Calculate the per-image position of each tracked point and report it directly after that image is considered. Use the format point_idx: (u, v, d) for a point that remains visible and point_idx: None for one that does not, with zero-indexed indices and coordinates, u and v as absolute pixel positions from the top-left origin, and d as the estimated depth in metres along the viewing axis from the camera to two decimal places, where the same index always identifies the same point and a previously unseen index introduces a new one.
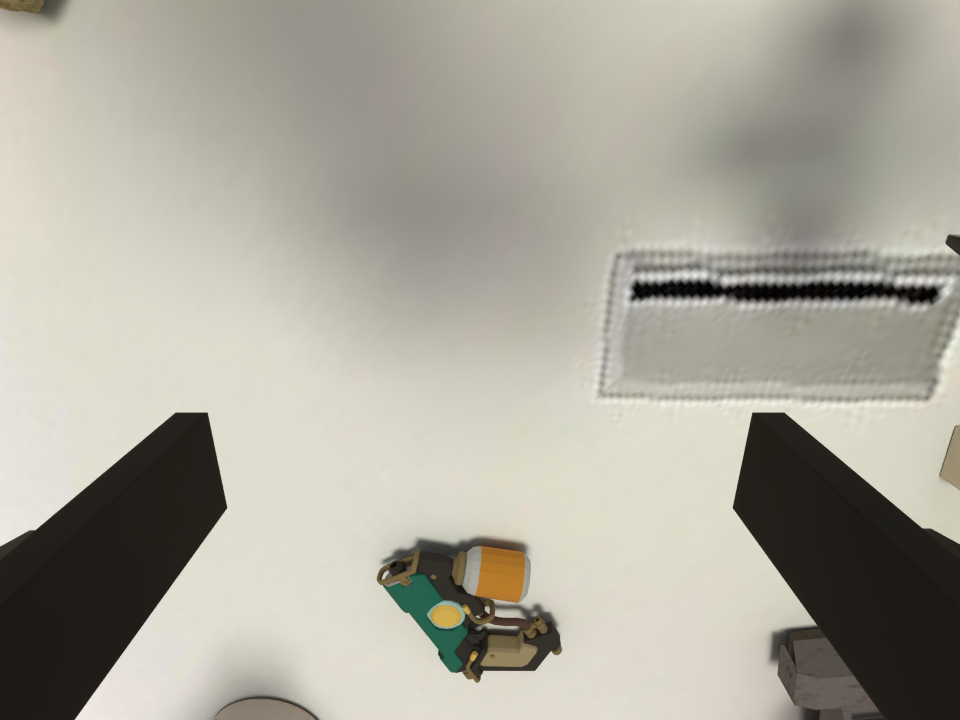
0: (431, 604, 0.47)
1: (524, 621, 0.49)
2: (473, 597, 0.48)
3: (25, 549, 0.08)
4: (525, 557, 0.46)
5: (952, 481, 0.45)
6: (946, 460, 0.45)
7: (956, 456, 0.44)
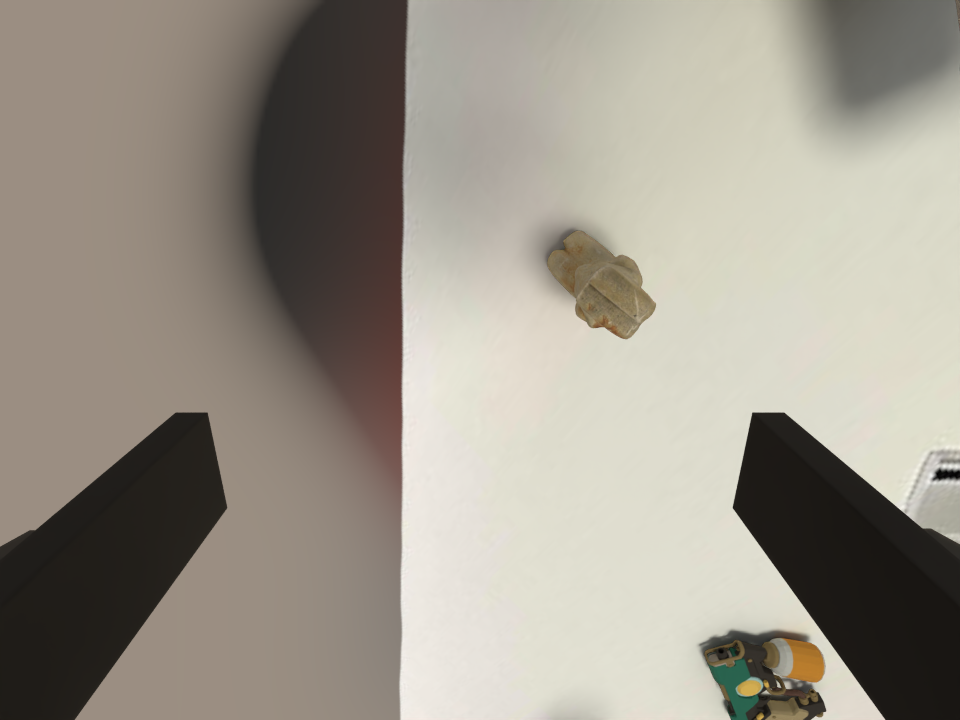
0: (743, 680, 0.64)
1: (802, 692, 0.66)
2: (773, 675, 0.64)
3: (25, 549, 0.08)
4: None
5: None
6: None
7: None
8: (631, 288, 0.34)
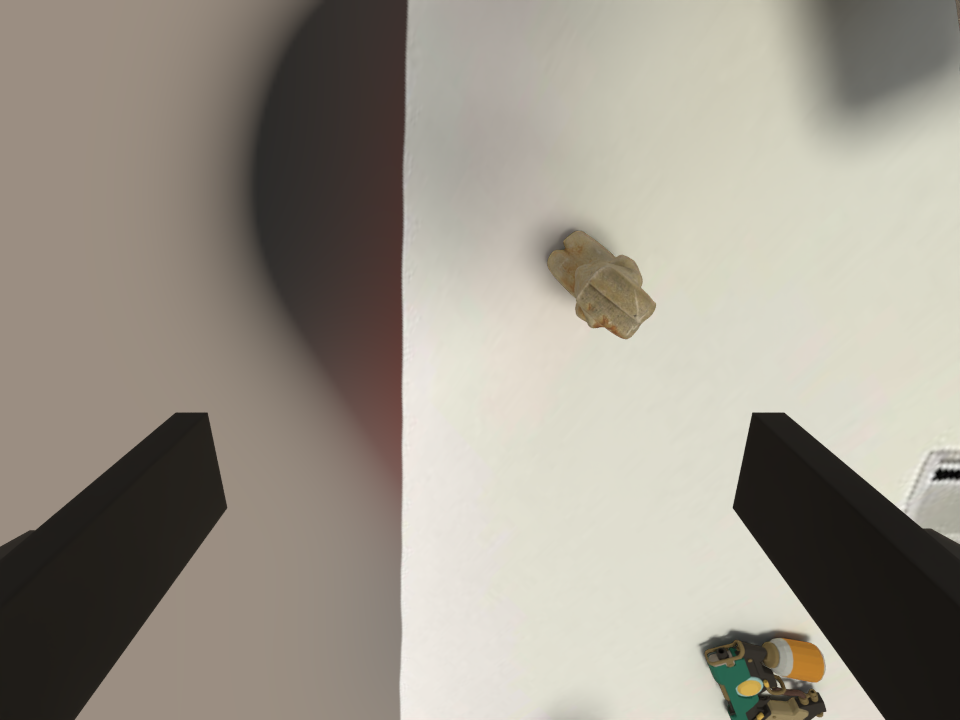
0: (743, 680, 0.64)
1: (802, 692, 0.66)
2: (773, 675, 0.64)
3: (25, 549, 0.08)
4: None
5: None
6: None
7: None
8: (631, 288, 0.34)
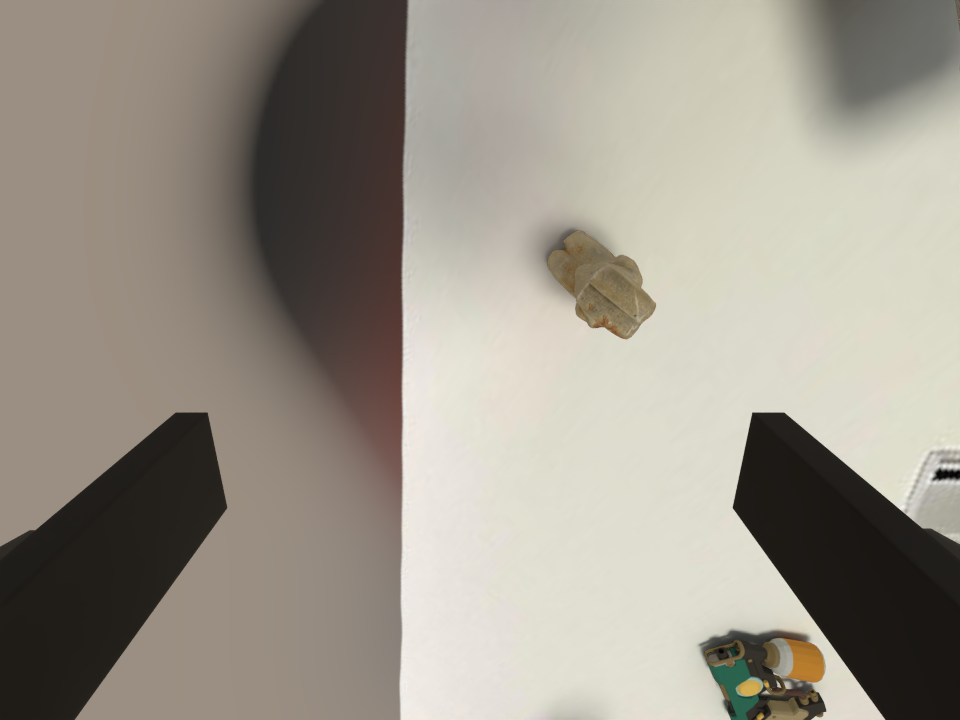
0: (743, 680, 0.64)
1: (802, 692, 0.66)
2: (773, 675, 0.64)
3: (25, 549, 0.08)
4: None
5: None
6: None
7: None
8: (631, 288, 0.34)
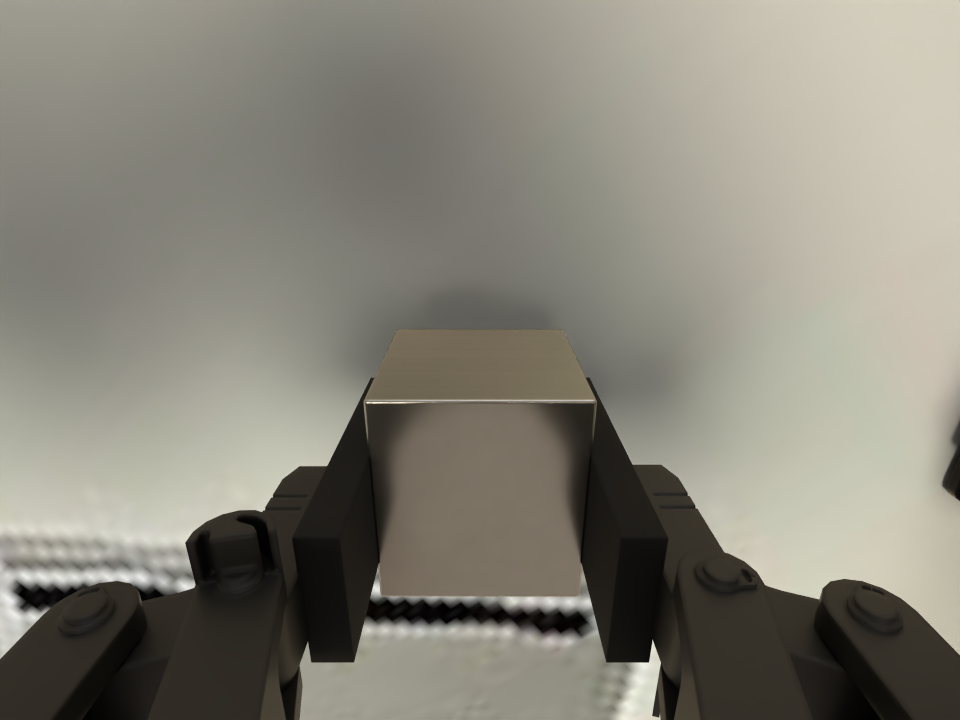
0: None
1: None
2: None
3: (333, 472, 0.10)
4: None
5: None
6: None
7: None
8: None
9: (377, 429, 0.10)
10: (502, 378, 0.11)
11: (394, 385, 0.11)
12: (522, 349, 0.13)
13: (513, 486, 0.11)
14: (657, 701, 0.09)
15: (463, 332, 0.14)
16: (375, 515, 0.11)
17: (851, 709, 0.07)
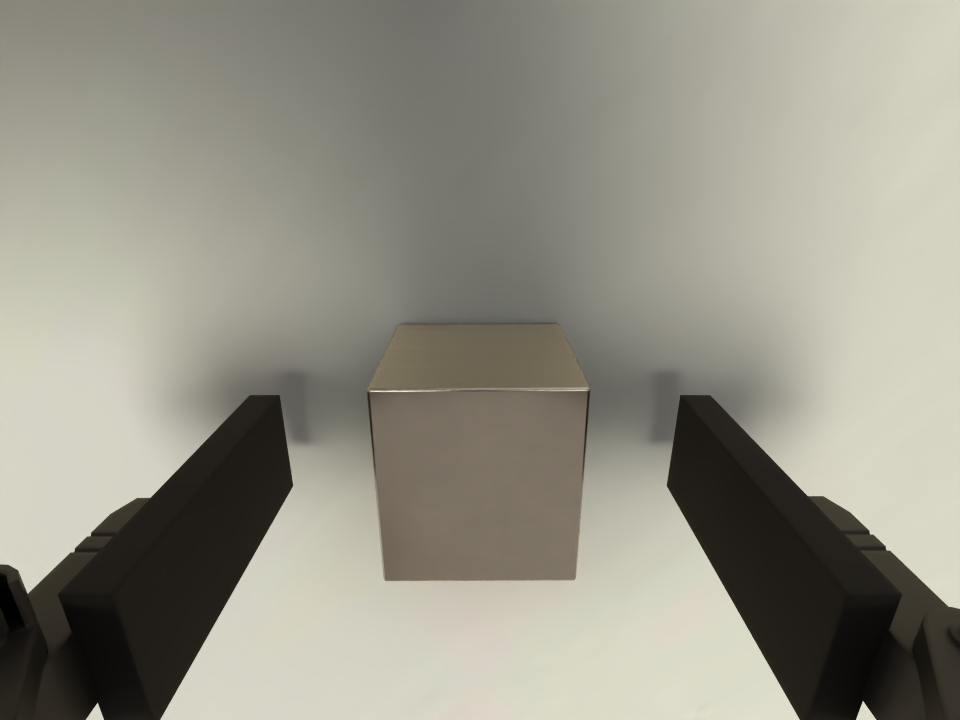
0: None
1: None
2: None
3: (149, 510, 0.09)
4: None
5: None
6: None
7: None
8: None
9: (379, 416, 0.11)
10: (500, 368, 0.11)
11: (397, 375, 0.11)
12: (519, 342, 0.13)
13: (511, 471, 0.11)
14: None
15: (462, 327, 0.14)
16: (378, 501, 0.12)
17: None
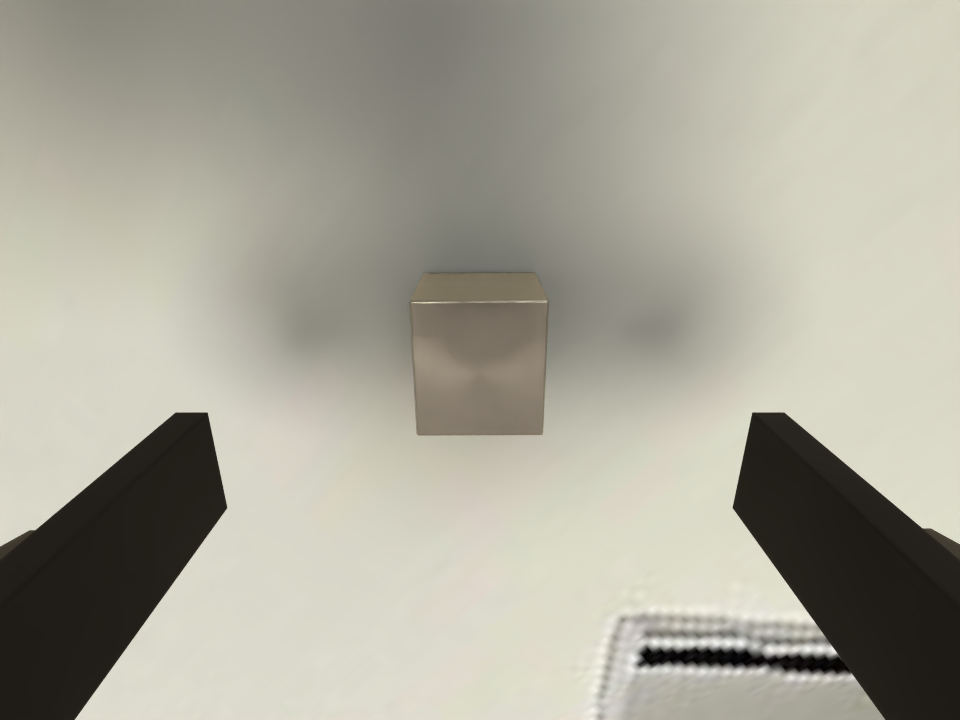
0: None
1: None
2: None
3: (25, 549, 0.08)
4: None
5: None
6: None
7: None
8: None
9: (417, 319, 0.17)
10: (492, 292, 0.18)
11: (427, 295, 0.18)
12: (506, 281, 0.20)
13: (499, 356, 0.18)
14: None
15: (468, 274, 0.21)
16: (414, 377, 0.18)
17: None
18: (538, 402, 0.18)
